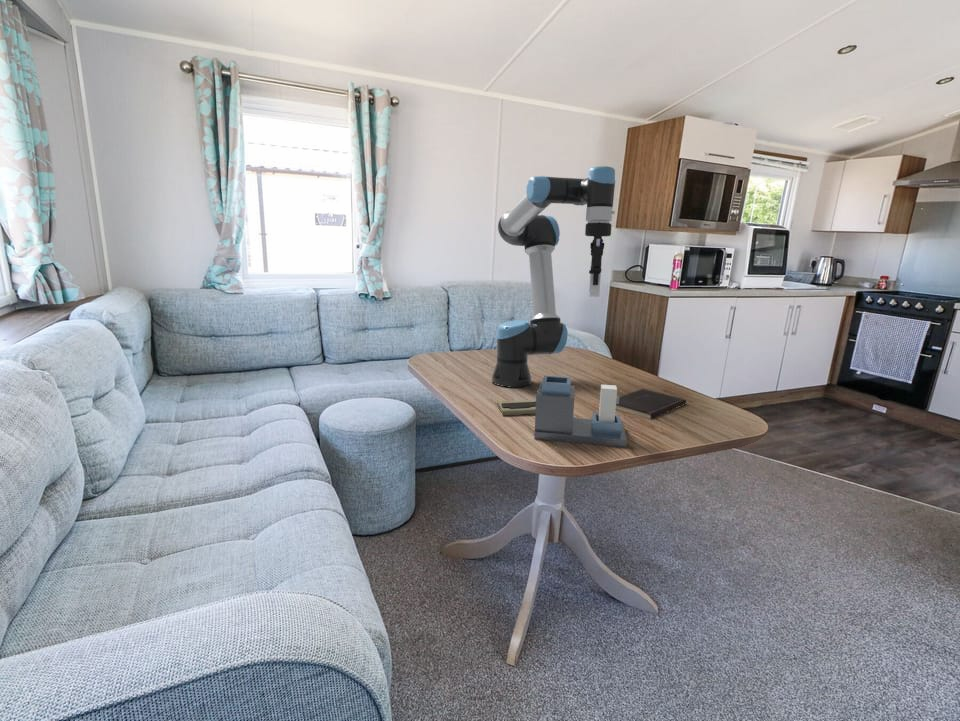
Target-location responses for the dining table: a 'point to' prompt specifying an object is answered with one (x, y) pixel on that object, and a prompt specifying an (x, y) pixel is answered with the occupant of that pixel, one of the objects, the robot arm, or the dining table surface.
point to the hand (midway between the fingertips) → (593, 294)
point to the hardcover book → (648, 403)
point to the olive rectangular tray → (517, 407)
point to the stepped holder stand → (571, 417)
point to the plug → (608, 403)
